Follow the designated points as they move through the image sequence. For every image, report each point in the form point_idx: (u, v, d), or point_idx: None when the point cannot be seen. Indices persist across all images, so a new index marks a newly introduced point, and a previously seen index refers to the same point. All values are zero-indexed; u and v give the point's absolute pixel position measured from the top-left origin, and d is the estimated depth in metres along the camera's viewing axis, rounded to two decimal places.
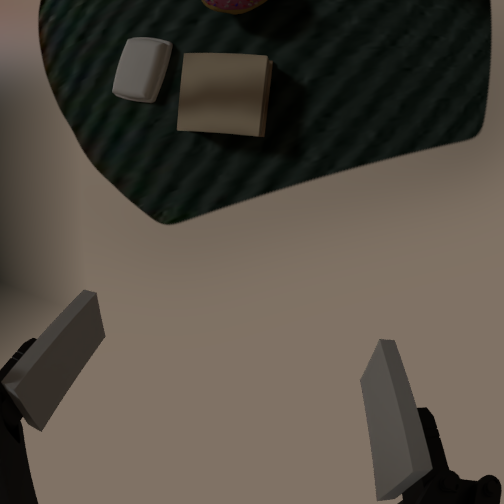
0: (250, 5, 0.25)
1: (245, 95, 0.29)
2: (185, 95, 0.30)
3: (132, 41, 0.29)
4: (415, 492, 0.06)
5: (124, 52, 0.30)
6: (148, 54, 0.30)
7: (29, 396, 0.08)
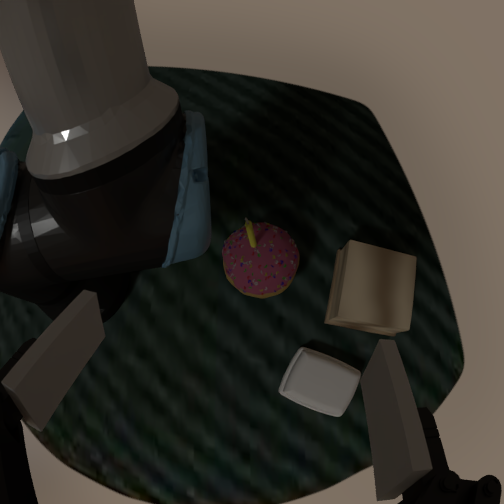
0: (295, 245, 0.34)
1: (384, 263, 0.34)
2: (380, 318, 0.32)
3: (292, 385, 0.32)
4: (415, 492, 0.06)
5: (302, 395, 0.32)
6: (315, 366, 0.32)
7: (29, 396, 0.08)
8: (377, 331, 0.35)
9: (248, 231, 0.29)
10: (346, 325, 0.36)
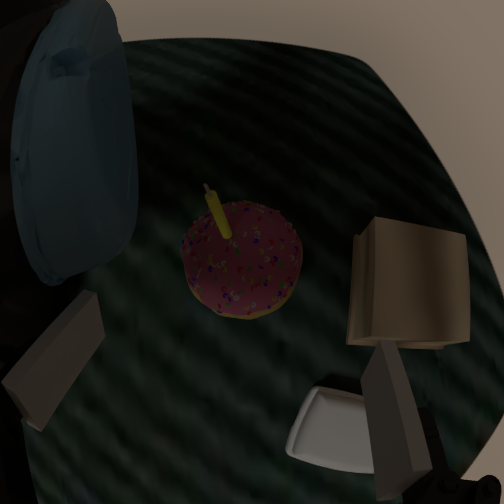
0: (295, 231, 0.22)
1: (427, 247, 0.21)
2: (431, 330, 0.19)
3: (306, 446, 0.19)
4: (415, 492, 0.06)
5: (321, 458, 0.19)
6: (338, 416, 0.20)
7: (29, 396, 0.08)
8: (420, 346, 0.23)
9: (213, 209, 0.17)
10: None
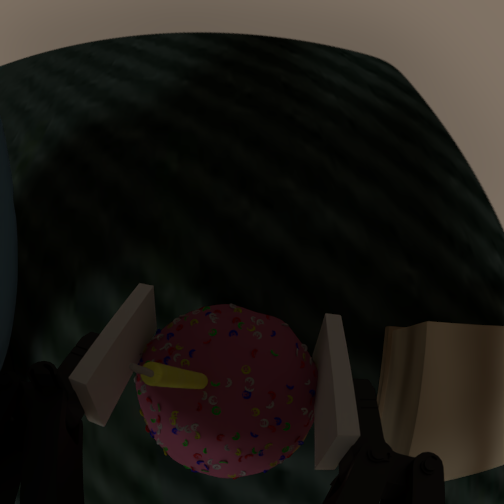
0: (311, 360, 0.13)
1: (487, 356, 0.13)
2: (473, 464, 0.10)
3: None
4: (346, 465, 0.08)
5: None
6: None
7: (97, 390, 0.09)
8: None
9: (162, 386, 0.08)
10: None
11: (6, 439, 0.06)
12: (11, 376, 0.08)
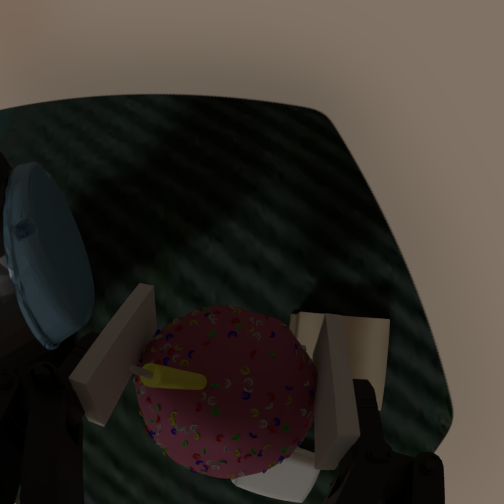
0: (310, 361, 0.13)
1: (347, 335, 0.27)
2: None
3: (242, 480, 0.25)
4: (346, 465, 0.08)
5: (254, 489, 0.24)
6: None
7: (97, 390, 0.09)
8: None
9: (161, 387, 0.08)
10: None
11: (6, 439, 0.06)
12: (11, 376, 0.08)
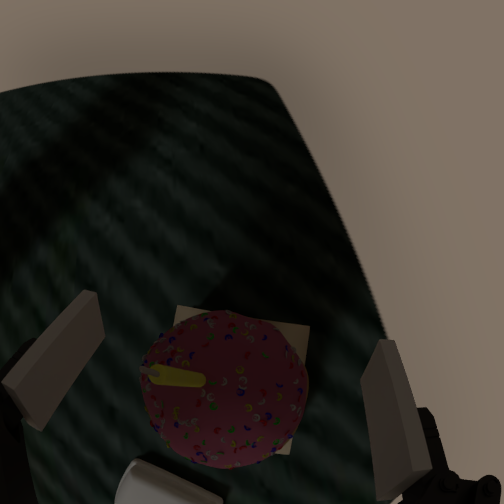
0: (300, 361, 0.14)
1: None
2: None
3: None
4: (415, 492, 0.06)
5: None
6: (143, 492, 0.18)
7: (29, 396, 0.08)
8: None
9: None
10: None
11: None
12: None
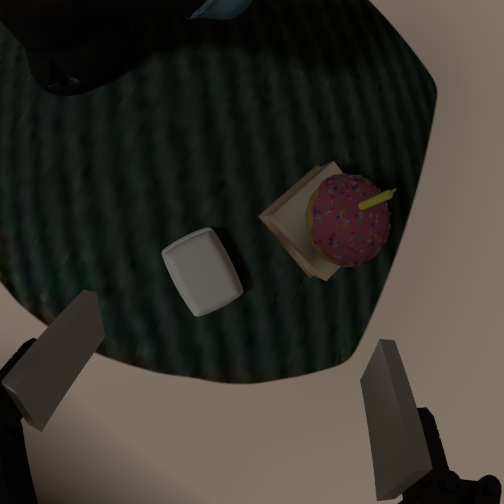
0: None
1: None
2: (308, 248, 0.31)
3: (175, 253, 0.32)
4: (415, 492, 0.06)
5: (177, 269, 0.32)
6: (207, 253, 0.32)
7: (29, 396, 0.08)
8: (298, 260, 0.36)
9: (380, 199, 0.21)
10: (275, 233, 0.35)
11: None
12: None
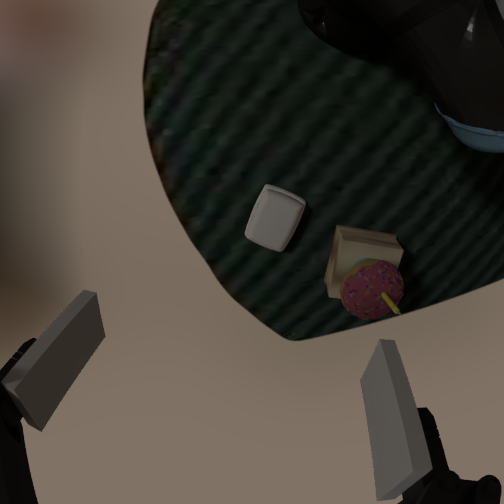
0: (380, 317, 0.38)
1: None
2: (339, 273, 0.42)
3: (273, 197, 0.41)
4: (415, 492, 0.06)
5: (264, 205, 0.42)
6: (289, 215, 0.42)
7: (29, 396, 0.08)
8: (328, 268, 0.47)
9: (391, 307, 0.31)
10: (334, 243, 0.45)
11: None
12: None
